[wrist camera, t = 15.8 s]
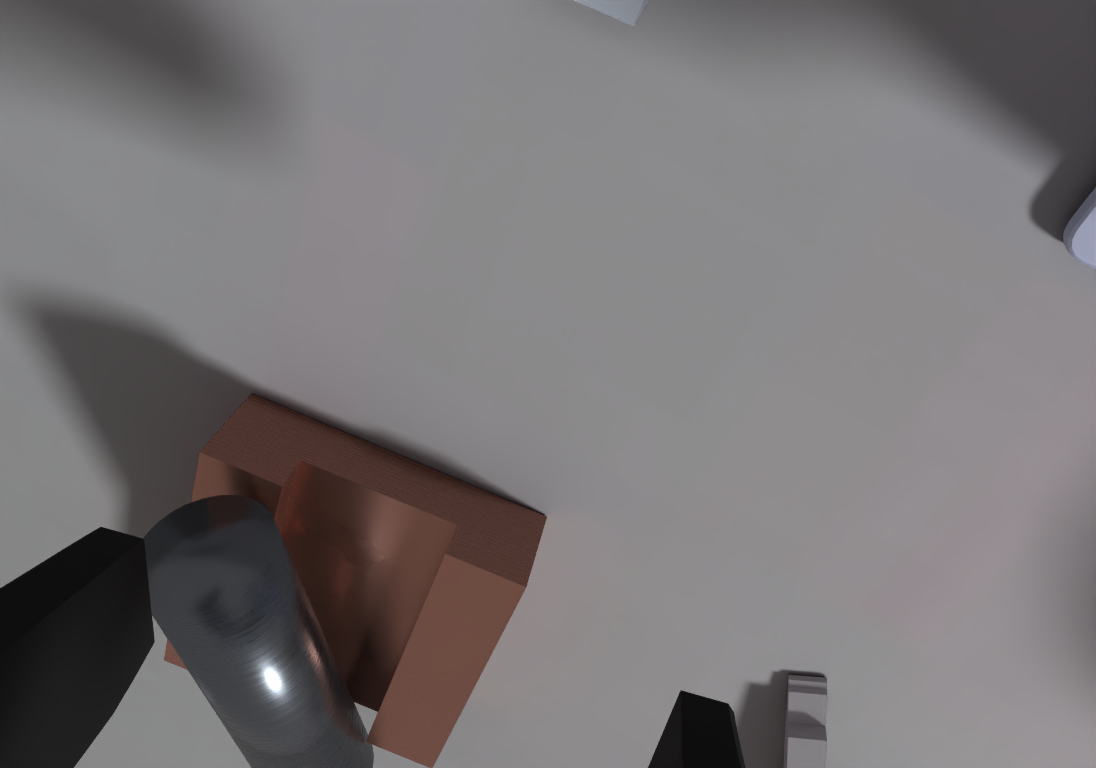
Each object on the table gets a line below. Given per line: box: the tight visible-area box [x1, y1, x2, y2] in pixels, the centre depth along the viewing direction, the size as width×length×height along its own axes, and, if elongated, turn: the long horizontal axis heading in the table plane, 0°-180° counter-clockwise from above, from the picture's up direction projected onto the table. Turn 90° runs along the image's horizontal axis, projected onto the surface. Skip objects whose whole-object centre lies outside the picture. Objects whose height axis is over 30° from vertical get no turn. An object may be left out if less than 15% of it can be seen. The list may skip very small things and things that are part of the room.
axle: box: [144, 495, 374, 768], centre depth 22 cm, size 10×3×3 cm, turn 3°
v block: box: [164, 394, 547, 768], centre depth 23 cm, size 8×8×2 cm
